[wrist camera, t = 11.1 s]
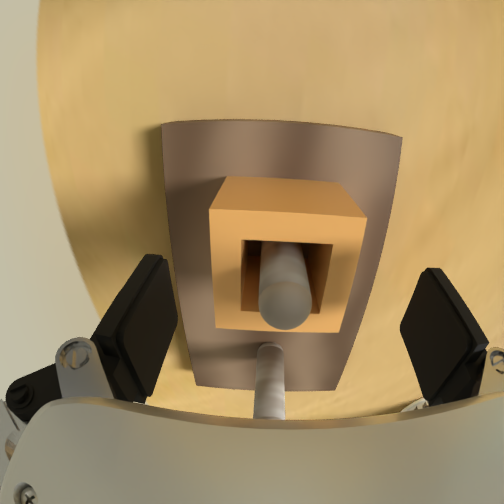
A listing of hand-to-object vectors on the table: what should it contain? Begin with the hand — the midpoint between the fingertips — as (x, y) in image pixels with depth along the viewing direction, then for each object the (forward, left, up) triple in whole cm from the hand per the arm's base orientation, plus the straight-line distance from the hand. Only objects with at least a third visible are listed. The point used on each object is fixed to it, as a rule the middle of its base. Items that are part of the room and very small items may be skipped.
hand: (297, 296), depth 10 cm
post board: (0, +6, -9) cm, 11 cm away
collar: (0, +1, -7) cm, 7 cm away
